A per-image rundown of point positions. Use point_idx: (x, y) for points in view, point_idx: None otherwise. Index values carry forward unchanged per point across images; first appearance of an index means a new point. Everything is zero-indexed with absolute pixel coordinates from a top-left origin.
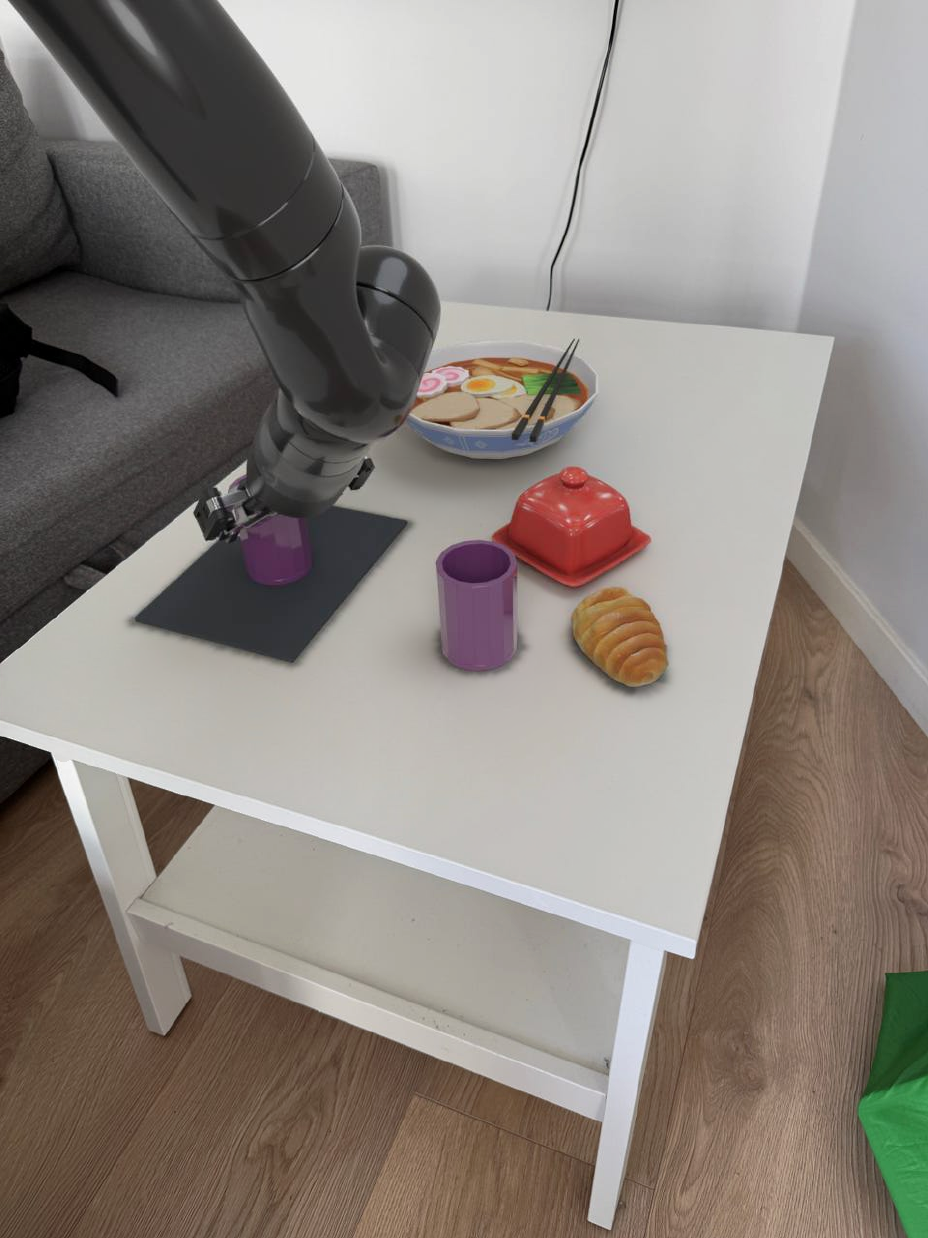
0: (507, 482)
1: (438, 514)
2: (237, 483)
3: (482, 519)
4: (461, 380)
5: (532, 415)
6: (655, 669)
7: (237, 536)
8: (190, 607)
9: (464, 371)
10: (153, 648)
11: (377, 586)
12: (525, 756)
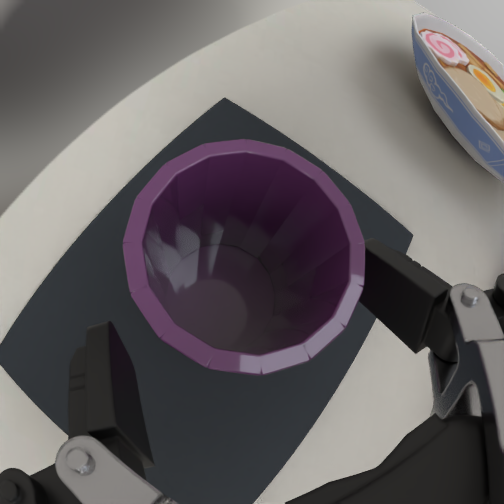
0: (484, 198)
1: (439, 229)
2: (164, 188)
3: (474, 259)
4: (466, 62)
5: None
6: None
7: (142, 412)
8: (62, 368)
9: (462, 52)
10: (22, 431)
11: (366, 386)
12: None
